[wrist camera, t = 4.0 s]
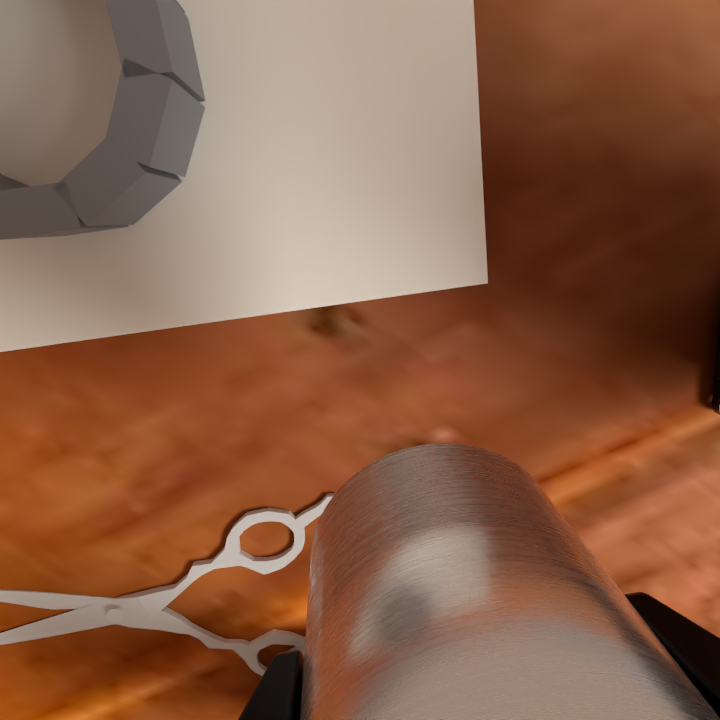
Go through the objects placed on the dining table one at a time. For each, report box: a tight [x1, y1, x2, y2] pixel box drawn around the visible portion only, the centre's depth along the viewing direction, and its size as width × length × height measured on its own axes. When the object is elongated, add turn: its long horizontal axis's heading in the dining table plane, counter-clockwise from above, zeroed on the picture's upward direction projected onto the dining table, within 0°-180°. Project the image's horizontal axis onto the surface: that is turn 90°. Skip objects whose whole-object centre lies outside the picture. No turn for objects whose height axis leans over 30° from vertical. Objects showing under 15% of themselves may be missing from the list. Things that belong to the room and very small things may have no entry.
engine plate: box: [0, 0, 488, 352], centre depth 13 cm, size 22×16×4 cm
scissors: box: [0, 493, 335, 676], centre depth 22 cm, size 11×1×20 cm
